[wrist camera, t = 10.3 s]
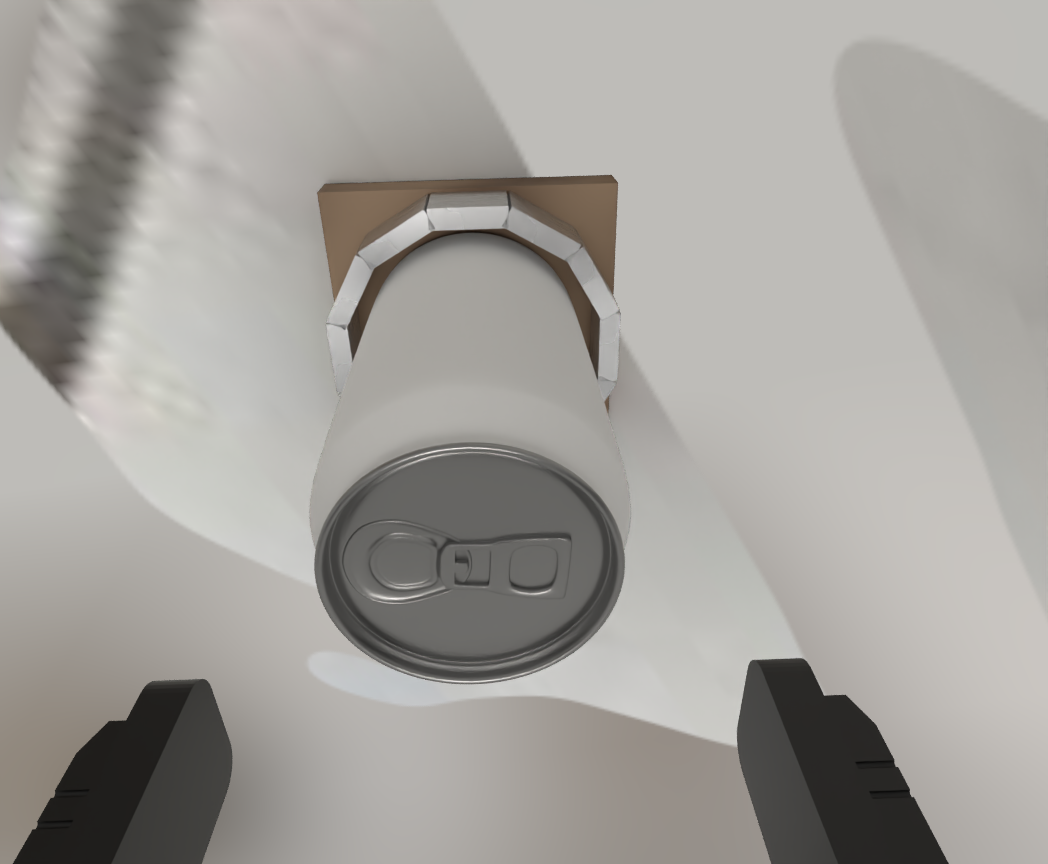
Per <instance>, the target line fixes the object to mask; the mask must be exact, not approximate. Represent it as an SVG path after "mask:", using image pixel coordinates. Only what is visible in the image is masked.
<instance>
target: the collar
mask: <svg viewBox="0 0 1048 864" xmlns="http://www.w3.org/2000/svg"><path fill="white" fill-rule="evenodd" d="M501 228H505V229H507V230H509V231H511V232H513V233H515V234H517V235H518V236H520V237H522V238H524V239H526V240H528V241H530V242H531V243H533V244H535V245H537V246H539V247H541V248H543V249H545V250H546V251H548V252H550V253H552V254H554V255H556V256H558V257H559V258H561V259H563V260H565V261H567V262H568V264H569V266H570V267H571V269H572V271H573V272H574V274H575V276H576V278H577V279H578V281H579V283H580V284H581V286H582V288H583V289H584V291H585V293H586V294H587V296H588V298H589V300H590V301H591V330H590V353H589V356H590V359H591V362H592V365H593V368H594V372H595V375H596V378H597V381H598V384H599V387H600V391H601V394H602V397H603V400H604V402H605V400H606V399H607V397H608V396H609V394H610V393H611V391H612V390H613V388H614V387H615V385H616V381H617V379H618V358H619V337H620V315H621V313H620V310H619V307H618V305H617V303H616V301H615V299H614V296H613V294H612V292H611V290H610V288H609V286H608V284H607V282H606V281H605V279H604V277H603V275H602V274H601V272H600V270H599V268H598V267H597V265H596V263H595V261H594V259H593V258H592V256H591V254H590V252H589V251H588V249H587V247H586V245H585V244H584V242H583V240H582V238H581V237H580V235H579V233H578V231H577V230H576V229H575V228H574V226H572V225H570V224H569V223H567V222H565V221H563V220H561V219H559V218H558V217H556V216H554V215H552V214H550V213H549V212H547V211H545V210H543V209H541V208H540V207H538V206H536V205H534V204H532V203H531V202H529V201H527V200H525V199H523V198H522V197H520V196H518V195H516V194H514V193H512V192H511V191H509V193H508V195H507V192H506V190H494V191H462V192H431V195H430V196H429V194H427V195H425V196H423V197H422V198H420V199H419V200H417V201H416V202H414V203H413V204H411V205H410V206H408V207H407V208H405V209H404V210H402V211H401V212H399V213H398V214H396V215H395V216H393V217H391V218H390V219H388V220H387V221H385V222H384V223H382V224H381V225H379V226H378V227H376V228H375V229H373V230H372V231H370V232H369V233H367V235H366V236H365V237H364V239H363V241H362V243H361V245H360V247H359V249H358V251H357V253H356V255H355V257H354V259H353V262H352V264H351V266H350V269H349V271H348V273H347V275H346V278H345V280H344V282H343V284H342V287H341V289H340V291H339V293H338V296H337V298H336V300H335V302H334V305H333V307H332V309H331V311H330V314H329V316H328V318H327V321H326V322H327V323H326V329H327V335H328V341H329V347H330V353H331V359H332V365H333V371H334V377H335V383H336V389H337V392H339V396H340V397H341V394H342V391H343V389H344V386H345V383H346V380H347V377H348V374H349V371H350V369H351V366H352V363H353V360H354V357H355V354H356V352H357V349H358V346H359V343H360V340H361V337H362V334H361V327H360V320H359V312H358V302H359V300H360V298H361V296H362V294H363V292H364V289H365V287H366V285H367V283H368V281H369V278H370V276H371V274H372V272H373V270H374V268H376V267H377V266H379V265H380V264H382V263H383V262H385V261H386V260H388V259H390V258H391V257H393V256H394V255H396V254H397V253H399V252H400V251H402V250H404V249H405V248H407V247H408V246H410V245H411V244H413V243H414V242H416V241H418V240H419V239H421V238H422V237H424V236H425V235H427V234H429V233H430V232H432V231H442V230H472V229H501Z"/></svg>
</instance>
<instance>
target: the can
mask: <svg viewBox="0 0 1048 864" xmlns="http://www.w3.org/2000/svg"><path fill="white" fill-rule="evenodd" d="M309 513H310V527H311V533H312V538H313V542H314V546H315V549H316V551H315V579H316V584H317V589H318V592H319V595H320V598H321V601H322V603H323V605H324V607H325V609H326V611H327V613H328V614H329V617H330V618H331V620H332V621H333V622H334V624H335V625H336V627H337V628H338V629H339V630H340V631H341V633H342V634H343V635H344V636H345V637H346V638H347V639H348V640H349V641H350V642H351V643H352V644H354V645H355V646H356V647H357V648H358V649H360V650H361V651H362V652H364V653H365V654H366V655H368V656H370V657H371V658H373V659H374V660H376V661H378V662H380V663H381V664H383V665H385V666H387V667H389V668H392V669H394V670H396V671H399V672H402V673H404V674H407V675H410V676H414V677H417V678H421V679H425V680H430V681H436V682H442V683H452V684H484V683H494V682H501V681H506V680H511V679H515V678H519V677H523V676H526V675H529V674H532V673H535V672H538V671H540V670H543V669H545V668H547V667H549V666H551V665H553V664H555V663H557V662H559V661H561V660H563V659H564V658H566V657H568V656H569V655H571V654H572V653H574V652H575V651H576V650H578V649H579V648H580V647H581V646H583V645H584V644H585V643H586V642H587V641H588V640H589V639H590V638H591V637H593V635H594V634H595V633H596V632H597V631H598V630H599V629H600V628H601V626H602V625H603V624H604V622H605V621H606V620H607V618H608V617H609V615H610V613H611V612H612V610H613V608H614V606H615V604H616V602H617V599H618V597H619V594H620V591H621V588H622V584H623V579H624V570H625V554H624V549H625V546H626V542H627V538H628V533H629V528H630V519H631V504H630V495H629V487H628V482H627V478H626V474H625V470H624V466H623V462H622V459H621V455H620V452H619V449H618V445H617V442H616V439H615V435H614V432H613V429H612V426H611V422H610V419H609V416H608V413H607V410H606V406H605V403H604V400H603V397H602V394H601V391H600V387H599V384H598V381H597V378H596V375H595V372H594V368H593V365H592V362H591V359H590V356H589V353H588V350H587V347H586V344H585V340H584V337H583V334H582V331H581V328H580V325H579V322H578V319H577V316H576V313H575V310H574V308H573V305H572V302H571V299H570V297H569V295H568V292H567V290H566V288H565V286H564V285H563V283H562V281H561V280H560V278H559V277H558V275H557V274H556V273H555V271H554V270H553V269H552V268H551V267H550V265H549V264H548V263H547V262H546V261H545V260H543V259H542V258H541V257H540V256H539V255H537V254H536V253H535V252H533V251H532V250H530V249H529V248H527V247H525V246H524V245H522V244H520V243H518V242H515V241H513V240H510V239H508V238H505V237H501V236H497V235H492V234H486V233H459V234H453V235H448V236H444V237H441V238H438V239H435V240H432V241H430V242H428V243H426V244H424V245H422V246H420V247H418V248H417V249H415V250H414V251H412V252H411V253H410V254H408V255H407V256H406V257H405V258H404V259H402V260H401V261H400V262H399V263H398V264H397V265H396V267H395V268H394V269H393V270H392V271H391V273H390V274H389V276H388V277H387V279H386V280H385V282H384V283H383V285H382V287H381V289H380V291H379V293H378V295H377V297H376V300H375V302H374V305H373V307H372V310H371V313H370V315H369V318H368V321H367V323H366V326H365V329H364V332H363V335H362V337H361V340H360V343H359V346H358V349H357V352H356V354H355V357H354V360H353V363H352V366H351V369H350V371H349V374H348V377H347V380H346V383H345V386H344V389H343V391H342V394H341V397H340V400H339V403H338V406H337V409H336V412H335V415H334V417H333V420H332V423H331V426H330V429H329V432H328V435H327V438H326V441H325V444H324V447H323V450H322V453H321V456H320V459H319V463H318V466H317V470H316V473H315V477H314V481H313V485H312V491H311V498H310V510H309Z"/></svg>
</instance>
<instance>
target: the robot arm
mask: <svg viewBox="0 0 1048 864" xmlns="http://www.w3.org/2000/svg"><path fill="white" fill-rule="evenodd" d="M737 744H738V753H739V759H740V764H741V768H742V772H743V775H744V778H745V781H746V785H747V788H748V791H749V794H750V797H751V800H752V804H753V806H754V810H755V813H756V816H757V820H758V823H759V826H760V829H761V832H762V835H763V839H764V841H765V845H766V848H767V851H768V854H769V857H770V861H771V864H948V862H947V860H946V858H945V856H944V854H943V852H942V850H941V848H940V846H939V845H938V842H937V841H936V839H935V837H934V835H933V833H932V831H931V829H930V827H929V825H928V823H927V821H926V820H925V818H924V816H923V814H922V812H921V810H920V808H919V807H918V804H917V802H916V801H915V799H914V797H911V795H910V789H909V787H908V785H907V783H906V781H905V779H904V778H903V776H902V774H901V772H900V770H899V768H898V767H895V764H894V758H893V756H892V755H891V753H890V751H889V749H888V747H887V745H886V743H885V741H884V739H883V738H882V735H881V734H880V732H879V730H878V728H877V726H876V725H875V723H874V722H872V720H871V719H870V718H868V716H867V715H865V714H864V713H863V711H862V710H860V709H859V708H858V707H857V706H856V705H855V704H854V703H853V702H852V701H851V700H850V699H849V698H848V697H847V696H846V695H830V696H824V695H823V692H822V690H821V688H820V686H819V684H818V682H817V680H816V678H815V675H814V673H813V671H812V669H811V667H810V666H809V664H808V663H807V662H806V661H805V660H804V659H802V658H795V659H769V660H752V661H751V662H750V664H749V666H748V670H747V676H746V682H745V687H744V693H743V699H742V704H741V710H740V715H739V721H738V727H737ZM231 771H232V749H231V744H230V741H229V738H228V735H227V732H226V729H225V726H224V723H223V720H222V717H221V715H220V712H219V709H218V706H217V703H216V700H215V697H214V694H213V691H212V688H211V686H210V684H209V683H208V681H207V680H205V679H193V680H169V681H168V680H167V681H152V682H150V683H149V684H147V685H146V686H145V688H144V689H143V690H142V692H141V694H140V695H139V697H138V699H137V701H136V703H135V705H134V707H133V709H132V710H131V712H130V714H129V716H128V718H127V720H126V721H109V722H108V723H107V724H106V725H105V726H104V727H103V728H102V729H101V730H100V731H99V732H98V733H97V734H96V735H95V736H94V737H93V738H92V739H91V740H89V741H88V743H87V744H85V745H84V746H83V747H82V748H81V749H80V750H79V751H78V752H77V753H76V755H75V757H74V758H73V760H72V762H71V764H70V765H69V767H68V769H67V771H66V772H65V774H64V776H63V778H62V779H61V781H60V783H59V785H58V786H57V788H56V790H55V796H54V798H51V799H50V800H49V802H48V804H47V805H46V807H45V809H44V811H43V813H42V814H41V816H40V818H39V820H38V821H37V822H38V826H37V828H36V829H34V830H32V832H31V834H30V835H29V837H28V838H27V840H26V842H25V844H24V845H23V847H22V849H21V851H20V852H19V854H18V856H17V858H16V859H15V861H14V863H13V864H202V861H203V858H204V855H205V852H206V850H207V847H208V844H209V841H210V838H211V835H212V833H213V830H214V827H215V824H216V821H217V818H218V816H219V813H220V810H221V807H222V804H223V802H224V799H225V796H226V793H227V790H228V787H229V783H230V777H231Z"/></svg>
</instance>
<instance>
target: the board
mask: <svg viewBox="0 0 1048 864" xmlns="http://www.w3.org/2000/svg"><path fill="white" fill-rule="evenodd" d="M494 190H506V192H507V195H508V193H509V191H511V192H512V193H514V194H516V195H518V196H520V197H522V198H523V199H525V200H527V201H529V202H531V203H532V204H534V205H536V206H538V207H540V208H541V209H543V210H545V211H547V212H549V213H550V214H552V215H554V216H556V217H558V218H559V219H561V220H563V221H565V222H567V223H569V224H570V225H572V226H574V228H575V229H576V230H577V231H578V233H579V235H580V237H581V238H582V240H583V242H584V244H585V245H586V247H587V249H588V251H589V252H590V254H591V256H592V258H593V259H594V261H595V263H596V265H597V267H598V268H599V270H600V272H601V274H602V275H603V277H604V279H605V281H606V282H607V284H608V286H609V288H610V290H611V292H612V294H613V290H614V265H615V242H616V241H615V240H616V218H617V194H618V182H617V181H616V180H615V179H614V177H613V176H612V175H599V176H598V175H597V176H565V177H533V178H501V179H470V180H438V181H406V182H374V183H343V184H324V186H323V187H322V188H321V189H320V190H319V191H318V192H317V194H318V201H319V207H320V213H321V220H322V226H323V232H324V239H325V245H326V251H327V258H328V264H329V271H330V277H331V283H332V290H333V296H334V302H335V300H336V298H337V296H338V293H339V291H340V289H341V287H342V284H343V282H344V280H345V278H346V275H347V273H348V271H349V269H350V266H351V264H352V262H353V259H354V257H355V255H356V253H357V251H358V249H359V247H360V245H361V243H362V241H363V239H364V237H365V236H366V235H367V233H369V232H370V231H372V230H373V229H375V228H376V227H378V226H379V225H381V224H382V223H384V222H385V221H387V220H388V219H390V218H391V217H393V216H395V215H396V214H398V213H399V212H401V211H402V210H404V209H405V208H407V207H408V206H410V205H411V204H413V203H414V202H416V201H417V200H419V199H420V198H422V197H423V196H425V195H427V194H429V196H430V195H431V192H462V191H494ZM459 233H486V234H492V235H497V236H501V237H505V238H508V239H510V240H513V241H515V242H518V243H520V244H522V245H524V246H525V247H527V248H529V249H530V250H532V251H533V252H535V253H536V254H537V255H539V256H540V257H541V258H542V259H543V260H545V261H546V262H547V263H548V264H549V265H550V267H551V268H552V269H553V270H554V271H555V273H556V274H557V275H558V277H559V278H560V280H561V281H562V283H563V285H564V286H565V288H566V290H567V292H568V295H569V297H570V299H571V302H572V305H573V308H574V310H575V313H576V316H577V319H578V322H579V325H580V328H581V331H582V334H583V337H584V340H585V344H586V347H587V350H588V353H590V330H591V301H590V300H589V298H588V296H587V294H586V293H585V291H584V289H583V288H582V286H581V284H580V283H579V281H578V279H577V278H576V276H575V274H574V272H573V271H572V269H571V267H570V266H569V264H568V262H567V261H565V260H563V259H561V258H559V257H558V256H556V255H554V254H552V253H550V252H548V251H546V250H545V249H543V248H541V247H539V246H537V245H535V244H533V243H531V242H530V241H528V240H526V239H524V238H522V237H520V236H518V235H517V234H515V233H513V232H511V231H509V230H507V229H505V228H501V229H472V230H442V231H432V232H430V233H429V234H427V235H425V236H424V237H422V238H421V239H419V240H418V241H416V242H414V243H413V244H411V245H410V246H408V247H407V248H405V249H404V250H402V251H400V252H399V253H397V254H396V255H394V256H393V257H391V258H390V259H388V260H386V261H385V262H383V263H382V264H380V265H379V266H377V267H376V268H374V270H373V272H372V274H371V276H370V278H369V281H368V283H367V285H366V287H365V289H364V292H363V294H362V296H361V298H360V300H359V302H358V312H359V320H360V327H361V334H362V335H363V332H364V329H365V326H366V323H367V321H368V318H369V315H370V313H371V310H372V307H373V305H374V302H375V300H376V297H377V295H378V293H379V291H380V289H381V287H382V285H383V283H384V282H385V280H386V279H387V277H388V276H389V274H390V273H391V271H392V270H393V269H394V268H395V267H396V265H397V264H398V263H399V262H400V261H401V260H402V259H404V258H405V257H406V256H407V255H408V254H410V253H411V252H412V251H414V250H415V249H417V248H418V247H420V246H422V245H424V244H426V243H428V242H430V241H432V240H435V239H438V238H441V237H444V236H448V235H453V234H459ZM604 403H605V406H606V410H607V413H608V409H609V396H608V397H607V399H606V400H605V402H604Z"/></svg>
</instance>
